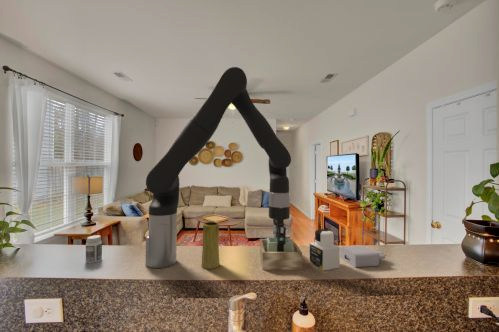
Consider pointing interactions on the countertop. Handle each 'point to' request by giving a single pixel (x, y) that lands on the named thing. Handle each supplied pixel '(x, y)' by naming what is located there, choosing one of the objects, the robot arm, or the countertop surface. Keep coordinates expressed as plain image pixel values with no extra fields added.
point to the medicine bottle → (324, 251)
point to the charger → (361, 256)
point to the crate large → (280, 258)
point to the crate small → (273, 244)
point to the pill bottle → (93, 249)
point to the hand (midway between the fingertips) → (278, 251)
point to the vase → (210, 245)
